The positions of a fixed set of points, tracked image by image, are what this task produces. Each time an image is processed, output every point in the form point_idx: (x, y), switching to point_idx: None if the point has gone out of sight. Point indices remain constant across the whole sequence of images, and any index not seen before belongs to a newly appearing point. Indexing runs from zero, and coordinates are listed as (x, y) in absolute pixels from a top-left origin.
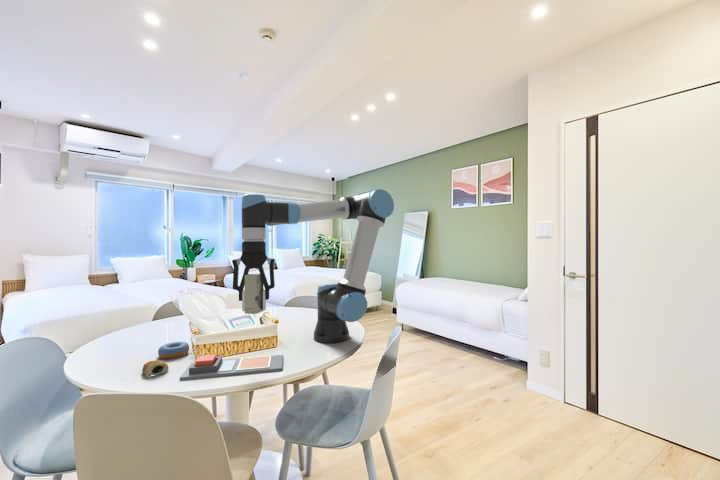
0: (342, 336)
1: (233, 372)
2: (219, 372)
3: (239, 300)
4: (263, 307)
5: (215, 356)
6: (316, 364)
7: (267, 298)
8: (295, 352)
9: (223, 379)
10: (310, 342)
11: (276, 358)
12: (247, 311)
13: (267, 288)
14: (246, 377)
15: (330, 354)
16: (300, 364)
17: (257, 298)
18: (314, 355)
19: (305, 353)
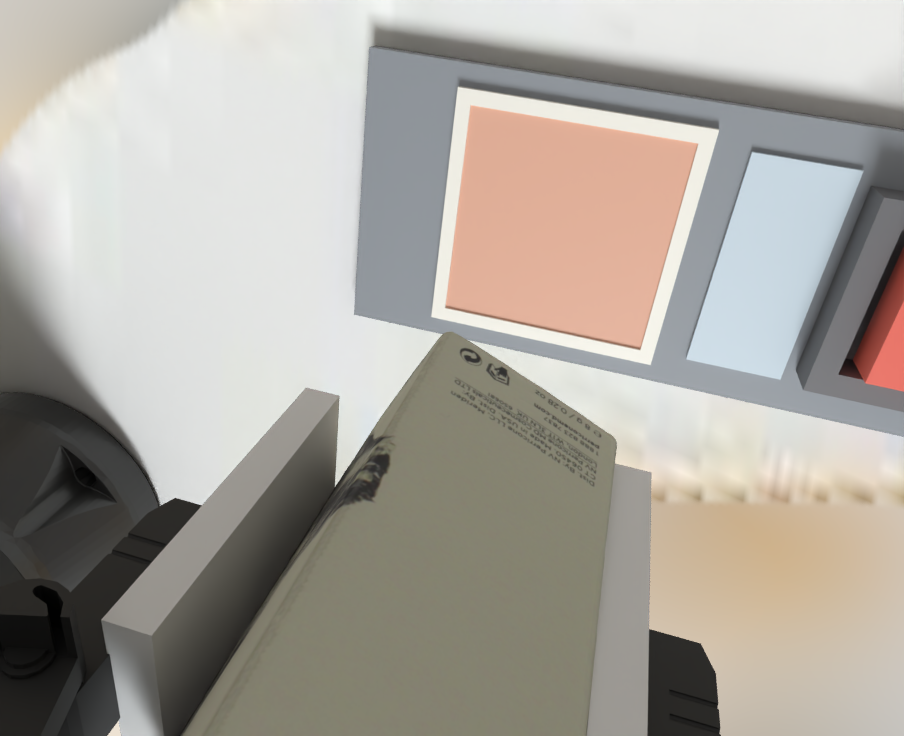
0: None
1: (743, 106)
2: (853, 155)
3: (700, 651)
4: (312, 419)
5: (875, 353)
6: (140, 65)
7: (176, 517)
8: (276, 351)
9: (833, 42)
10: (182, 475)
11: (400, 261)
12: (572, 424)
13: (9, 645)
14: (649, 10)
15: (55, 213)
16: (246, 113)
17: (336, 502)
18: (155, 242)
19: (212, 304)
